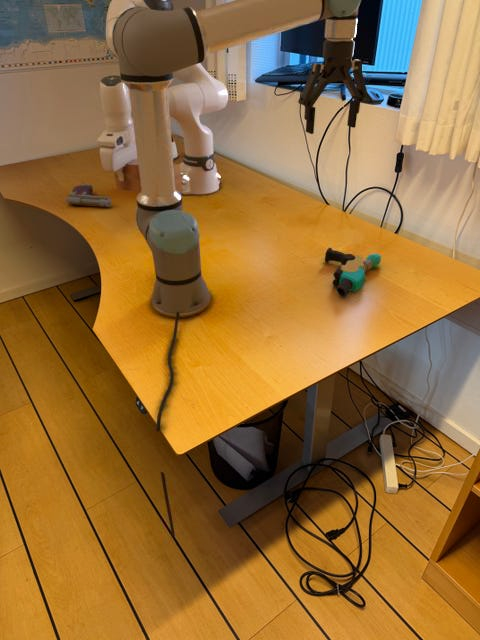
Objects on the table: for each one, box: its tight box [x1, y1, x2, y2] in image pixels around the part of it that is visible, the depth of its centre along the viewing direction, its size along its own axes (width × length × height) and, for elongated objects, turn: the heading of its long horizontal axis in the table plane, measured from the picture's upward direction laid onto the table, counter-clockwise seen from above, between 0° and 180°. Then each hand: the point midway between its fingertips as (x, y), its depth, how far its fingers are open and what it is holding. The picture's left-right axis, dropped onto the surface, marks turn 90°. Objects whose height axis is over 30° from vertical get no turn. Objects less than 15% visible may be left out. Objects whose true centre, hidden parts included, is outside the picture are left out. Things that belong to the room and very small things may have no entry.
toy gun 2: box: [324, 247, 382, 299], centre depth 133 cm, size 4×26×15 cm
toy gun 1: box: [65, 184, 112, 208], centre depth 182 cm, size 4×19×15 cm
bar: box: [113, 159, 183, 194], centre depth 155 cm, size 22×5×9 cm, turn 69°
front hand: (330, 129), depth 129 cm, fingers open, 13 cm apart
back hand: (127, 177), depth 158 cm, fingers closed on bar, 5 cm apart
